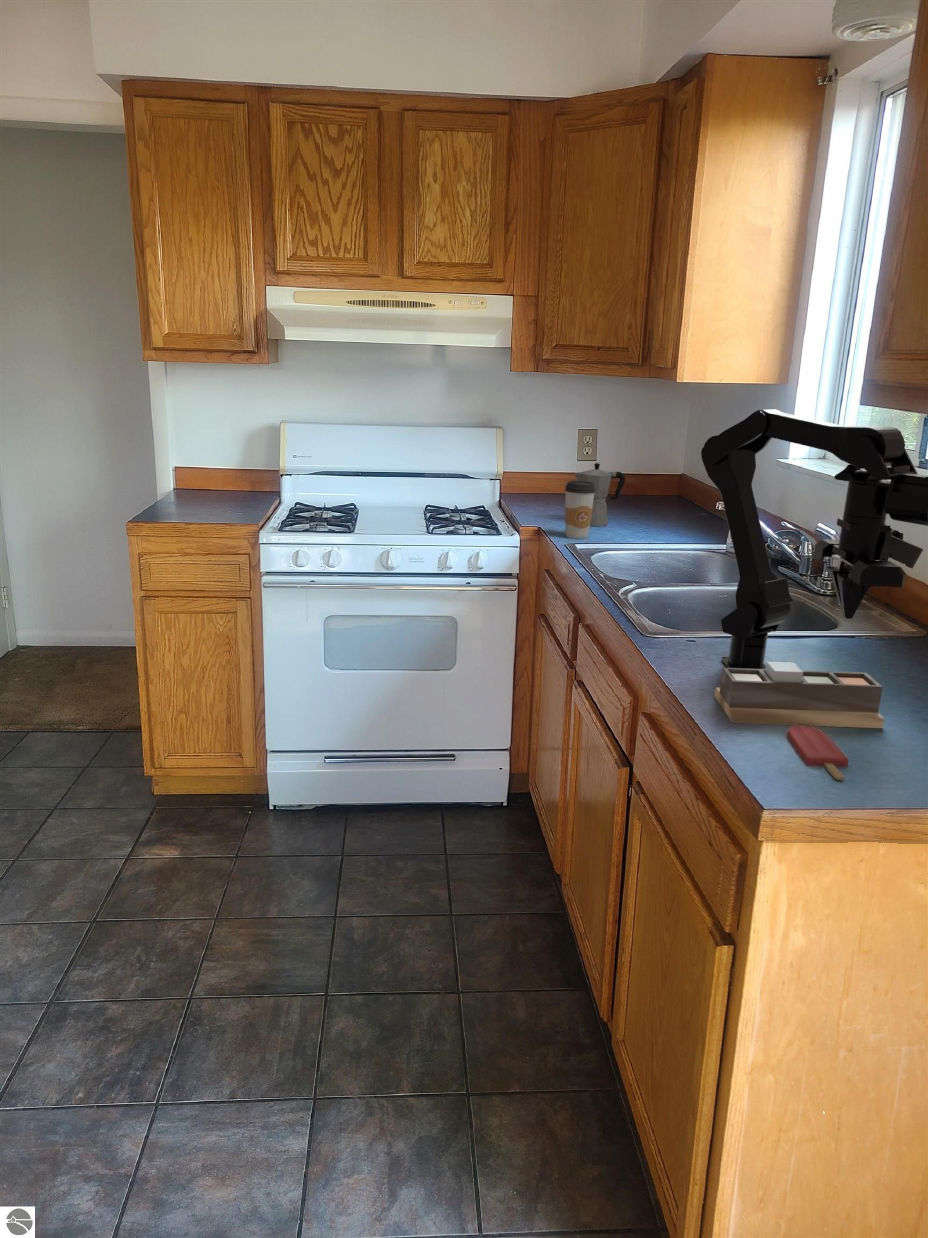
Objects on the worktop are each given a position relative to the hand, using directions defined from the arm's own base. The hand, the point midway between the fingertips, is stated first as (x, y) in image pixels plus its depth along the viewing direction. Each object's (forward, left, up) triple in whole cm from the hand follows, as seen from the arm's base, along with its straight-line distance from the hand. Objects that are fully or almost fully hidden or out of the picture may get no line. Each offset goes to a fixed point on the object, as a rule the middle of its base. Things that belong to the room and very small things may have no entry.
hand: (847, 617), depth 135 cm
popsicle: (+21, -10, -14) cm, 27 cm away
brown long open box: (+6, -8, -13) cm, 16 cm away
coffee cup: (-116, -27, -13) cm, 120 cm away
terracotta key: (+6, 0, -11) cm, 13 cm away
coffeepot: (-136, -19, -13) cm, 138 cm away
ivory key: (+6, -16, -11) cm, 20 cm away
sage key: (+6, -5, -11) cm, 14 cm away
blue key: (+6, -11, -9) cm, 15 cm away
